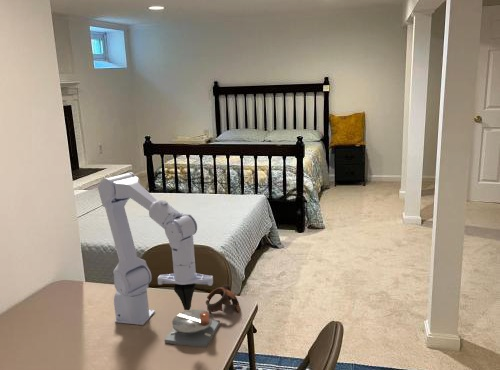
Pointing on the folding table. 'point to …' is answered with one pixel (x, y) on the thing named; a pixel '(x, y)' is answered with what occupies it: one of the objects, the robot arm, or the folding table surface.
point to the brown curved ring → (222, 299)
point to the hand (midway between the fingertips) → (187, 308)
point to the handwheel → (192, 321)
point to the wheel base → (193, 336)
